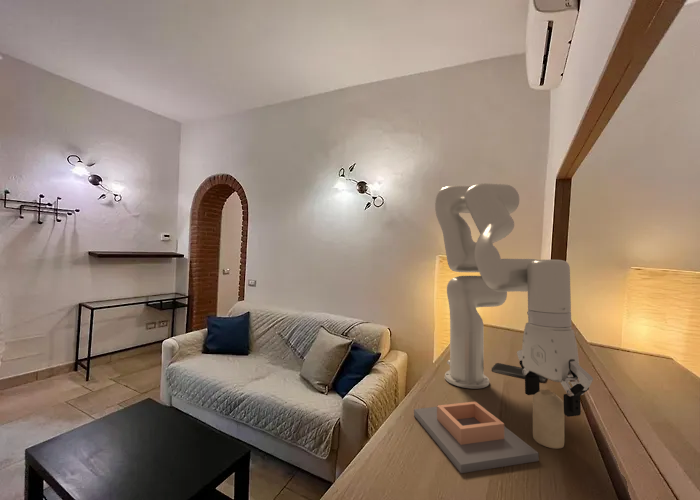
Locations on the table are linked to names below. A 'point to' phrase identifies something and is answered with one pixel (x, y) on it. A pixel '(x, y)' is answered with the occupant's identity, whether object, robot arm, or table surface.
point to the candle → (548, 419)
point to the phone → (512, 371)
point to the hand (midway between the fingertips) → (550, 404)
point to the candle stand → (474, 437)
